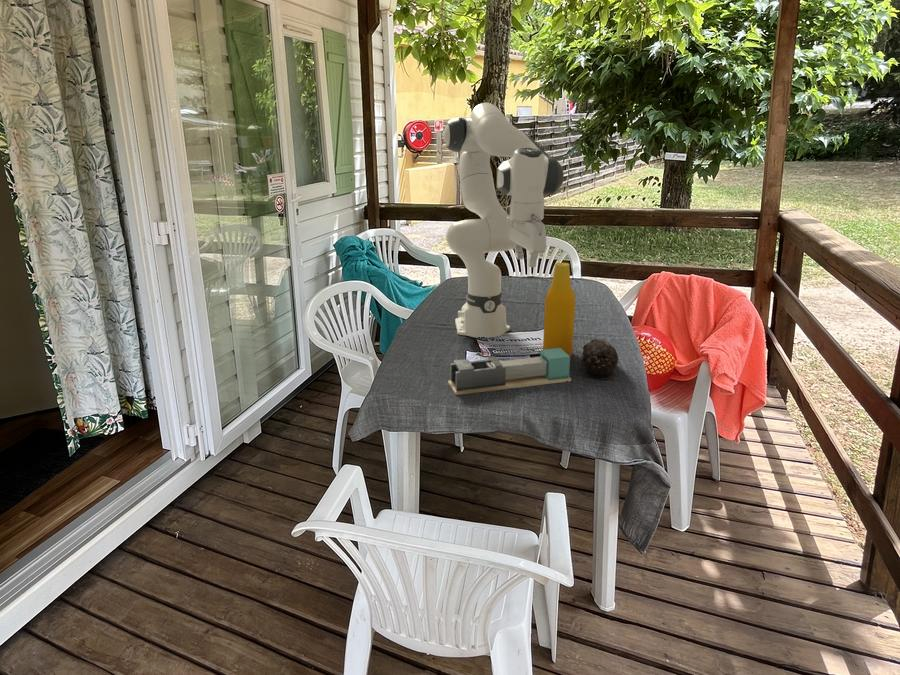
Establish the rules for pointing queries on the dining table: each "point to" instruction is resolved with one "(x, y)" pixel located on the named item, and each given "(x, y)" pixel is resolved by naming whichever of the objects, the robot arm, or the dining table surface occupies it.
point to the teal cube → (556, 363)
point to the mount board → (513, 384)
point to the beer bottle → (559, 311)
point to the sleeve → (477, 374)
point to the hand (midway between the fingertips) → (525, 262)
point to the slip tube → (524, 367)
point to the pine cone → (599, 359)
